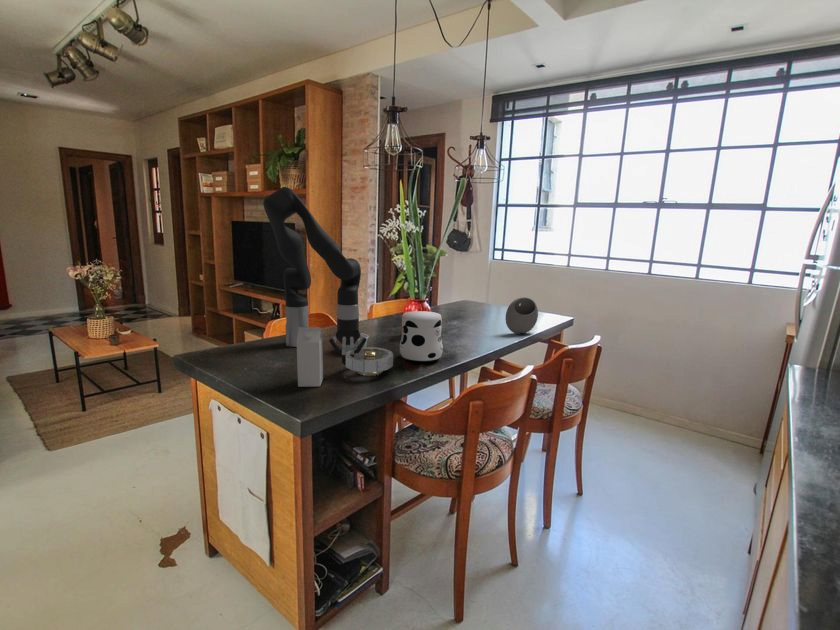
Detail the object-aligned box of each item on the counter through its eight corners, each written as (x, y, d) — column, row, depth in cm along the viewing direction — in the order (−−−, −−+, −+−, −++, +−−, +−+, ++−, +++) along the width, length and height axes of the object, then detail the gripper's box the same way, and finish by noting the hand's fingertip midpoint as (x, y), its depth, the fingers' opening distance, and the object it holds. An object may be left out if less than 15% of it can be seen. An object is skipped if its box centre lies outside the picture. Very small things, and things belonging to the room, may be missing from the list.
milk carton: (301, 379, 145) (300, 324, 141) (323, 379, 146) (322, 325, 142) (297, 387, 138) (296, 329, 134) (320, 387, 139) (319, 330, 135)
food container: (352, 357, 171) (351, 341, 170) (333, 350, 179) (333, 335, 177) (374, 351, 180) (374, 336, 178) (356, 345, 188) (356, 331, 186)
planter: (508, 336, 210) (511, 299, 206) (500, 333, 216) (503, 296, 213) (540, 334, 216) (543, 297, 212) (531, 331, 223) (534, 295, 219)
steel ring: (345, 373, 144) (345, 361, 143) (345, 358, 160) (345, 347, 159) (394, 371, 147) (395, 360, 146) (390, 357, 163) (390, 346, 162)
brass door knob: (357, 376, 149) (357, 356, 147) (357, 368, 158) (356, 349, 156) (383, 376, 150) (383, 355, 149) (381, 367, 159) (381, 348, 158)
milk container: (451, 359, 171) (453, 315, 167) (420, 368, 159) (421, 321, 155) (421, 350, 183) (422, 308, 179) (390, 358, 171) (390, 313, 168)
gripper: (327, 319, 144) (327, 368, 147) (368, 318, 146) (368, 367, 149) (328, 314, 151) (328, 361, 154) (367, 314, 153) (367, 360, 157)
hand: (348, 364), depth 152 cm, fingers closed on steel ring, 1 cm apart
